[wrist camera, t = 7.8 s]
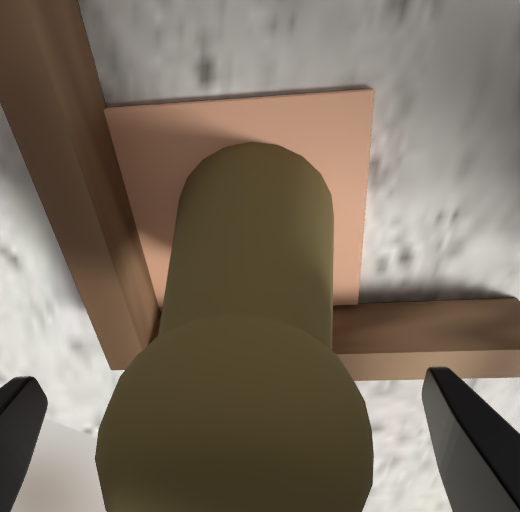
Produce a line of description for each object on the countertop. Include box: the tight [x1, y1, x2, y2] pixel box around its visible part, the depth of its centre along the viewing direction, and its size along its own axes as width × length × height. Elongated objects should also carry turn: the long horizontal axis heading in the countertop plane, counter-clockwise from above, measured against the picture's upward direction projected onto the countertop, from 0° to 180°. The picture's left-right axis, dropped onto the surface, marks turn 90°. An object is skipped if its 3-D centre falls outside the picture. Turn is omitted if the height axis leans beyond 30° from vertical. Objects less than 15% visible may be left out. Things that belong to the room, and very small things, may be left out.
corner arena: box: [0, 0, 520, 381], centre depth 13 cm, size 18×17×3 cm
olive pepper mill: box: [95, 142, 374, 512], centre depth 11 cm, size 6×6×11 cm
